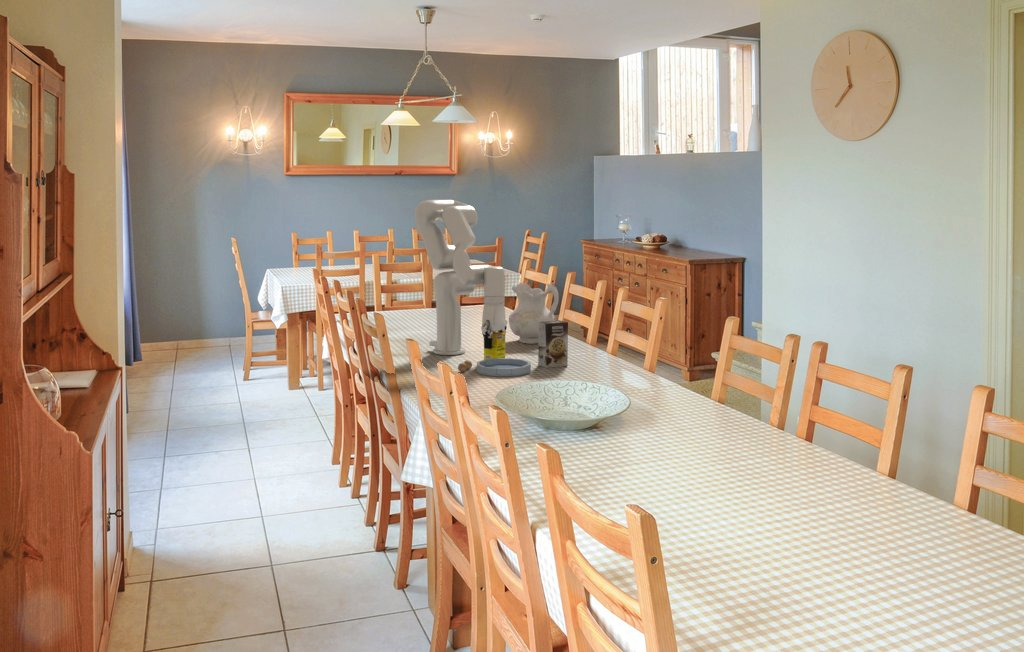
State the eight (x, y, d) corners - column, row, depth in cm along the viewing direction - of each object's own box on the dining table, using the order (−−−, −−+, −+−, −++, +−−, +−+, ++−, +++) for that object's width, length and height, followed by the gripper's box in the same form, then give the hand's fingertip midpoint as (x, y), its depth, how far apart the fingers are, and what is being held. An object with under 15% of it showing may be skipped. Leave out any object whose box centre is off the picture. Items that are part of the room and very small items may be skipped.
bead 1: (456, 372, 318) (456, 363, 317) (461, 370, 320) (461, 361, 320) (464, 373, 316) (464, 364, 316) (468, 371, 319) (468, 362, 318)
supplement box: (497, 364, 332) (497, 334, 330) (483, 362, 335) (483, 333, 333) (505, 361, 337) (505, 332, 335) (492, 359, 340) (492, 331, 338)
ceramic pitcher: (564, 341, 385) (566, 283, 383) (554, 346, 366) (555, 284, 364) (515, 339, 391) (516, 281, 389) (502, 343, 372) (503, 283, 370)
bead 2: (461, 369, 322) (461, 360, 322) (466, 367, 325) (466, 359, 325) (469, 370, 321) (469, 361, 320) (473, 368, 324) (473, 359, 323)
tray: (466, 373, 316) (466, 365, 315) (493, 363, 332) (493, 356, 332) (514, 378, 307) (514, 370, 306) (539, 368, 323) (540, 361, 323)
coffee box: (546, 368, 324) (546, 323, 322) (537, 365, 330) (537, 321, 327) (568, 366, 328) (568, 321, 326) (559, 362, 334) (559, 319, 331)
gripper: (497, 297, 342) (497, 342, 344) (473, 302, 327) (473, 349, 329) (514, 298, 338) (514, 343, 341) (491, 303, 323) (491, 351, 326)
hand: (494, 346), depth 335 cm, fingers open, 9 cm apart
